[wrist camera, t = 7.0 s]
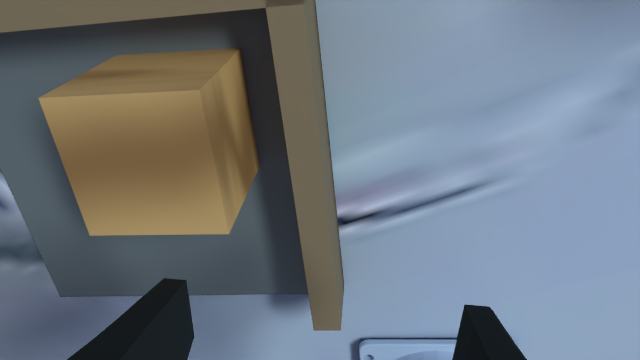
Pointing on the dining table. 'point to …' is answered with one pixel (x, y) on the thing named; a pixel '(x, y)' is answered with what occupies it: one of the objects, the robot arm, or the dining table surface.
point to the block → (157, 142)
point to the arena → (270, 133)
